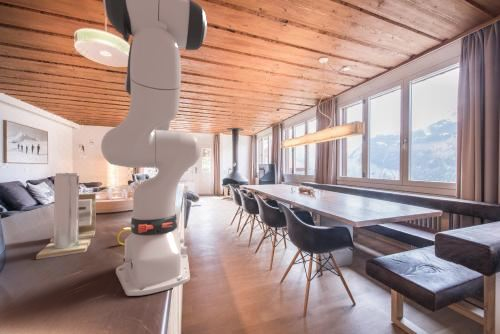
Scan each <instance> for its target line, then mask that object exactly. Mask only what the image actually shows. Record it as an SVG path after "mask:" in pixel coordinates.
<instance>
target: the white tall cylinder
mask: <svg viewBox="0 0 500 334" xmlns="http://www.w3.org/2000/svg"><path fill="white" fill-rule="evenodd" d="M53 183H54V184H53V185H54V187H53V189H54V193H53V195H54V196H53V203H54V204H53V237H54V242H53V243H54V248H55V249H63V248H69V247H72V246H75V245H77V244H78V243H79V240H80V239H79V194H80V175H78V173H75V172H74V173H69V172H64V173H63V172H62V173H61V172H60V173H57V172H56V173H55V175H54V182H53Z"/></svg>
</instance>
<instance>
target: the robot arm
mask: <svg viewBox="0 0 500 334" xmlns="http://www.w3.org/2000/svg"><path fill="white" fill-rule="evenodd" d="M102 2H103V7H104V11H105V13H106V16H107V19H108V21H109V23H110V24H111V27H113V28H114V29H115V31H116V32H118V33H119V34H121V36H122V37H123V40H124V41H125V42H127V43H129V40H130V37H131V36H132V37H133V38H132V39H131V42H130V44H129V49H128V50H129V52H128V56H127V70H126V75H125V77H124V88H125V91H126V93H127V94H128V95H130V98H129V99H130V102H129V103H130V104H129V109H128V112H127V114H126V116H125V118H124V119H123V121H122V122H121V123H119V124H117V126H115V127H112V128H111V129H110V130H108V131H107V132H106V133H105V134H104V136H103V138H102V140H101V143H100V150H101V153H102V155H103V157H104V159H105V160H106V162H108V163H109V164H110V165H114V166H118V167H123V168H124V167H125V168H137V169H138V168H141V169H143V168H145V169H146V168H151V169H153V168H154V169H157V170H158V172H157V174H156V175H155V176H153V177H151V178H150V179H147V180H145V181H143V182H141V183H140V184H138V185H137V186H136V187H135V188H134V190H133V193H132V194H133V195H132V199H133V200H132V217H131V218H130V219H131V220H130V227H131V230H130V231H131V233H130V234H129V235H128V236H127V237H126V238H125V240H124V243H125V245H124V257H123V264H122V265H119V266H117V267H116V268H115V275H116V276H117V279H118V280H119V282H120V284H121V287H122V289H123V291H124V294H125V295H126V296H128V297H129V296H130V297H131V296H132V297H133V296H135V297H136V296H145V295H151V294H155V293H159V292H163V291H168V290H169V289H170V290H171V289H173V288H177V287H179V286H181V285H183V284H185V283H187V282H189V280H191V275H190V274H191V273H190V272H191V271H190V266H189V265H190V264H189V256H188V247H187V246H186V245H185V246H184V245H183V246H181V244H185V243H184V238H183V237H182V238H181V231H180V230H179V229H178V218H177V214H176V196H177V189H178V187H179V186H178V185H179V182H180V181H181V179H182V177H183V176H184V175H185V173H186V172H187V171H188V170H189V169H190V168H191V167H193V166H194V165H195V164H197V162H198V160H199V158H200V156H201V144H200V142H199V140H198V139H197V137H196V136H195V135H193V134H191V133H186V132H183V131H177V130H169V129H170V122H171V121H173V120H175V118H176V117H177V115H178V114H179V112H180V111H179V109H180V97H181V85H182V60H181V52H180V51H181V50H180V49H185V50H186V51H198V50H199V49H200V48H201V47H202V46H203V43H204V41H205V39H206V36H207V32H208V31H207V30H208V23H207V17H206V12H205V11H204V8H203V6H201V5H200V4H198V3H197V2H195V1H193V0H103V1H102Z"/></svg>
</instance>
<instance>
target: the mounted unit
mask: <svg viewBox="0 0 500 334" xmlns="http://www.w3.org/2000/svg"><path fill="white" fill-rule="evenodd" d="M96 197H97V195H96V193H82V194H81V193H79V240H81V239H89V238H91V239H92V238H94V236H95V234H96V216H97V215H96V211H97V210H96V209H97V208H96V207H97V206H96V204H97V203H96V201H97V200H96ZM49 241H50V242H49V244H50V243H54V236H53V237H51V239H50V240H49Z"/></svg>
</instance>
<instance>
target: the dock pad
mask: <svg viewBox="0 0 500 334" xmlns="http://www.w3.org/2000/svg"><path fill="white" fill-rule="evenodd" d="M91 242H92V238H84V239H79V243H78V244H77V245H75V246H72V247H69V248H63V249H55V248H54V242H53V243H50V242H49V243H48V244H47V245H46V246H45V247H43V248H42V250H40V251H39V252H38V253H37V254H36V256H35V259H36V260H42V259H48V258H56V257H61V256H67V255H75V254H79V253H85V252H86V251H87V250H88V248H89V247H90V244H91Z"/></svg>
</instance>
